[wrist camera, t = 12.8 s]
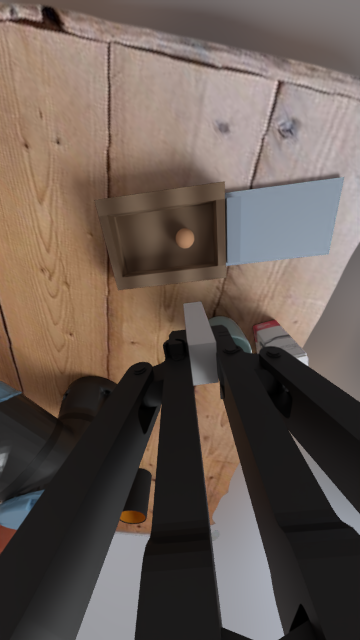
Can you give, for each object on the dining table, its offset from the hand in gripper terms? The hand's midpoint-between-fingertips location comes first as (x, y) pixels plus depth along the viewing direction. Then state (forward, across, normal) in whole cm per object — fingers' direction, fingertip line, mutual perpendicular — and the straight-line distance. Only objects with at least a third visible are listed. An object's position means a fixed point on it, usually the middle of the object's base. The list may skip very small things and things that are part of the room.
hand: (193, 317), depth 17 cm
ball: (+20, +1, +6) cm, 21 cm away
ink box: (+21, +16, -16) cm, 31 cm away
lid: (+21, +16, +6) cm, 27 cm away
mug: (+23, -23, -66) cm, 74 cm away
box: (+21, -2, +6) cm, 22 cm away
